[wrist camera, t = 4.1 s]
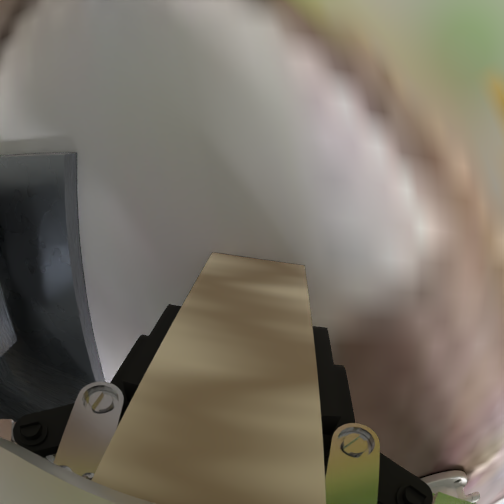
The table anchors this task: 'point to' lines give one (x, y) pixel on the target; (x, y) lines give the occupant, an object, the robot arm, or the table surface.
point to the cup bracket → (42, 287)
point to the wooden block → (227, 397)
